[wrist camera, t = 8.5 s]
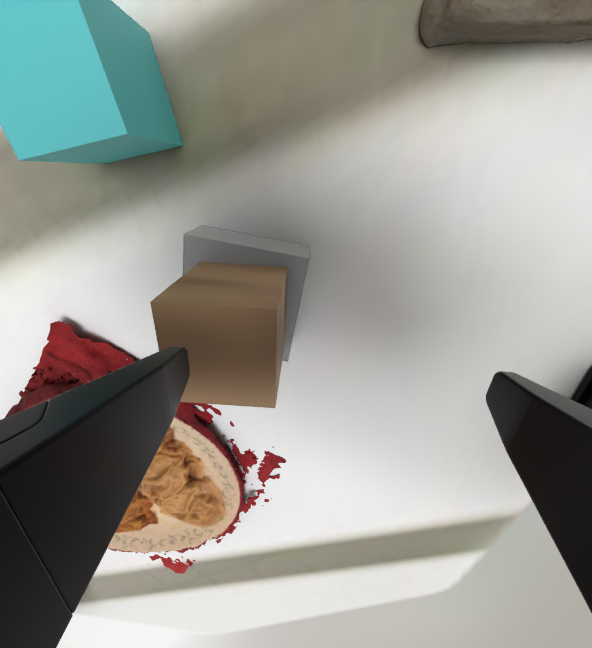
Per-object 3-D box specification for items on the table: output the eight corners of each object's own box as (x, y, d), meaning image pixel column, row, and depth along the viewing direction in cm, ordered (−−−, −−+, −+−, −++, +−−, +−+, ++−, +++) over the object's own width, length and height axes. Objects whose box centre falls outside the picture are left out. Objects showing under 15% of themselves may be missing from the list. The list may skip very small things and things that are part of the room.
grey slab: (290, 336, 23) (287, 361, 20) (199, 319, 23) (181, 342, 20) (309, 245, 20) (308, 258, 17) (203, 224, 20) (183, 234, 17)
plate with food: (-10, 479, 33) (-44, 512, 30) (66, 312, 23) (27, 336, 20) (186, 559, 40) (175, 593, 37) (316, 457, 29) (316, 493, 26)
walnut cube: (284, 343, 19) (275, 407, 14) (207, 338, 20) (168, 401, 14) (287, 266, 17) (277, 309, 12) (199, 261, 17) (150, 302, 12)
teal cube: (183, 145, 18) (127, 133, 12) (105, 163, 18) (19, 160, 13) (149, 33, 15) (63, -41, 10) (61, 58, 16) (-64, 0, 11)
